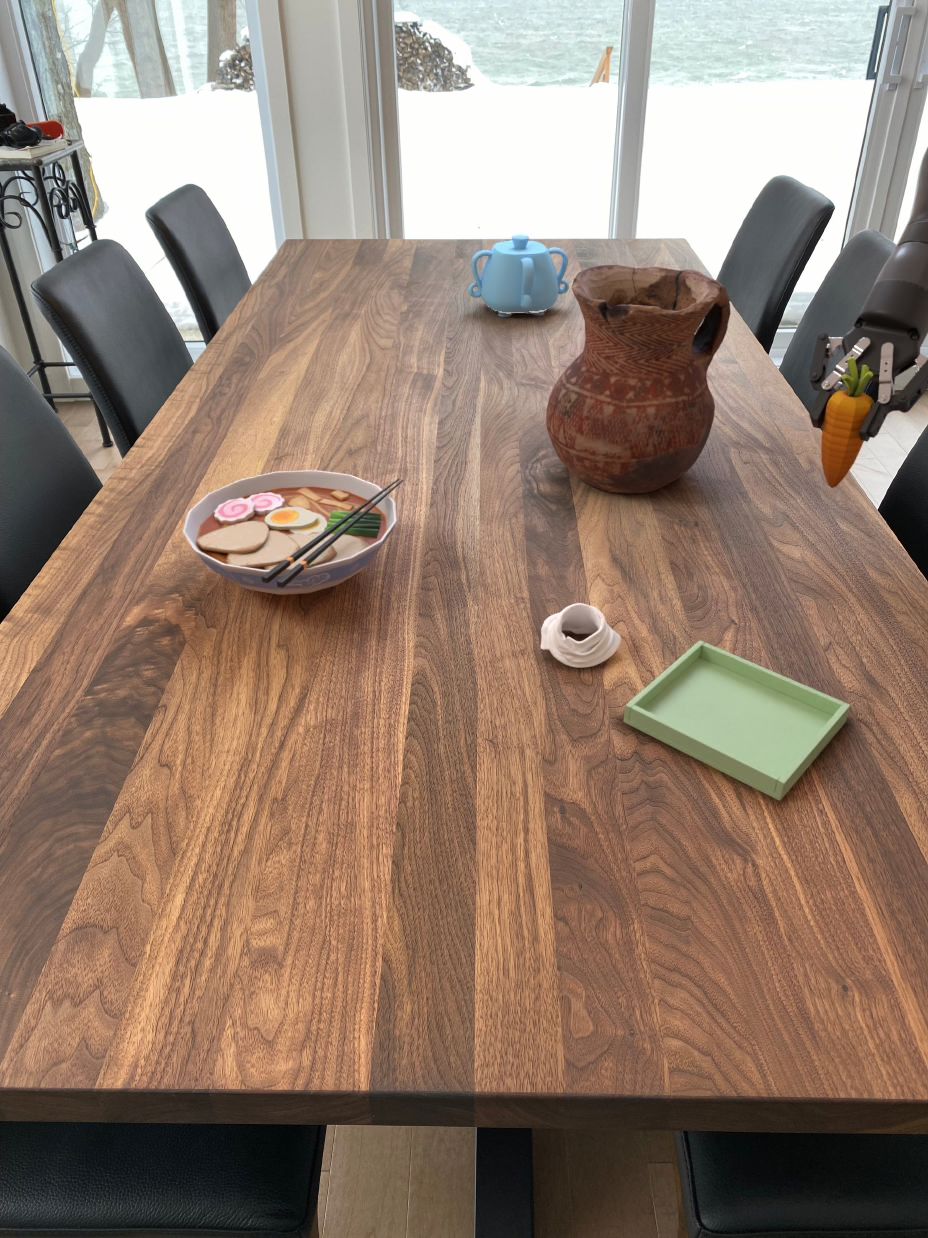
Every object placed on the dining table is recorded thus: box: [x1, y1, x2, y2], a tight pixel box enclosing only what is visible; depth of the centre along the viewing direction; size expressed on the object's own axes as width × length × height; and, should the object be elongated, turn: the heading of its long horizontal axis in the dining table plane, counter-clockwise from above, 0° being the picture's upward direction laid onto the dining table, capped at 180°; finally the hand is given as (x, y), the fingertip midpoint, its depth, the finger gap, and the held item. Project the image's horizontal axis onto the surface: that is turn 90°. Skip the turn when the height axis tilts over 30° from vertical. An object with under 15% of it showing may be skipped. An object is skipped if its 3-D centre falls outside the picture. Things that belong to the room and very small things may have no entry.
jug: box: [545, 264, 731, 495], centre depth 123 cm, size 22×21×25 cm
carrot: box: [820, 357, 875, 489], centre depth 109 cm, size 5×5×15 cm
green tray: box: [622, 639, 851, 802], centre depth 87 cm, size 15×13×2 cm
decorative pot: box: [468, 234, 570, 318], centre depth 186 cm, size 16×16×14 cm
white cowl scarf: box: [540, 602, 622, 668], centre depth 96 cm, size 8×7×5 cm
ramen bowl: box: [181, 469, 404, 596], centre depth 106 cm, size 25×23×8 cm
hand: (839, 430), depth 108 cm, fingers closed on carrot, 5 cm apart
